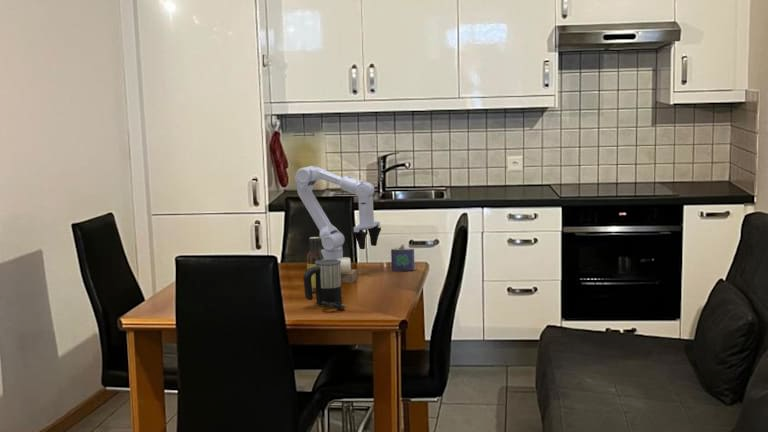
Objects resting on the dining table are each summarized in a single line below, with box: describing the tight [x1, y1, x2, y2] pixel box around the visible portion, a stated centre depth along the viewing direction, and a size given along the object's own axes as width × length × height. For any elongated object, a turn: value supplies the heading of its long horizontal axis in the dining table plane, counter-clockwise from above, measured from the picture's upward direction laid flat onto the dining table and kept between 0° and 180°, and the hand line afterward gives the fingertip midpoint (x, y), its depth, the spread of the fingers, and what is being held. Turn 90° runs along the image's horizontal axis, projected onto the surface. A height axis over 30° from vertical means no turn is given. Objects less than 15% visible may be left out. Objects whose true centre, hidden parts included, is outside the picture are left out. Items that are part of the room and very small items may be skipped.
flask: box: [390, 244, 416, 273], centre depth 365 cm, size 9×3×11 cm, turn 87°
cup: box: [337, 256, 352, 273], centre depth 350 cm, size 5×5×5 cm
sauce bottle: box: [306, 236, 324, 293], centre depth 334 cm, size 6×6×20 cm
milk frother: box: [303, 259, 346, 311], centre depth 311 cm, size 14×16×15 cm
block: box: [341, 268, 358, 284], centre depth 351 cm, size 8×8×4 cm
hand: (368, 247), depth 362 cm, fingers open, 7 cm apart
